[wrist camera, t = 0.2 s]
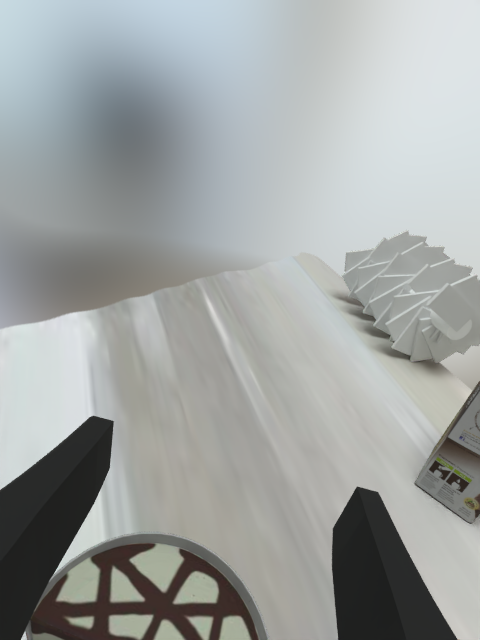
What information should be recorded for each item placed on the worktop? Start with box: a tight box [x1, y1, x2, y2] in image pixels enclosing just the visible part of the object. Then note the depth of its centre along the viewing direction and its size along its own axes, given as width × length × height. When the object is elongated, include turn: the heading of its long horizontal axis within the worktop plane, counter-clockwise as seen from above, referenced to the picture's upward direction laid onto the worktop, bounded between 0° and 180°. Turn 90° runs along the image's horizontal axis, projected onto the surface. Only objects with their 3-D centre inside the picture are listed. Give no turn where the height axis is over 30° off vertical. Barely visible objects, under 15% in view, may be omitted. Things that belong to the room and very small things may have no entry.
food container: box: [25, 532, 270, 640], centre depth 22 cm, size 12×6×10 cm, turn 78°
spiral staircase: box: [341, 230, 480, 364], centre depth 71 cm, size 18×18×25 cm
